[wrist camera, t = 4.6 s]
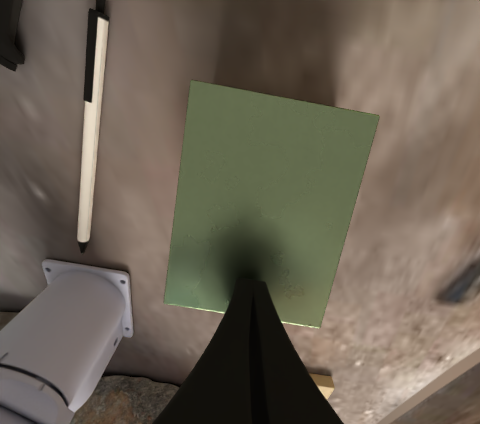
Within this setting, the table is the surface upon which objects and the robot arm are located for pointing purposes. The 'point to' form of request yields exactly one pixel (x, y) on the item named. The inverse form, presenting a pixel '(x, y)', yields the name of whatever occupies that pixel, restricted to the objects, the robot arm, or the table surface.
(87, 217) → the pen
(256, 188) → the green rectangular panel
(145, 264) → the table surface
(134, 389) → the rock
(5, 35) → the electric trimmer
